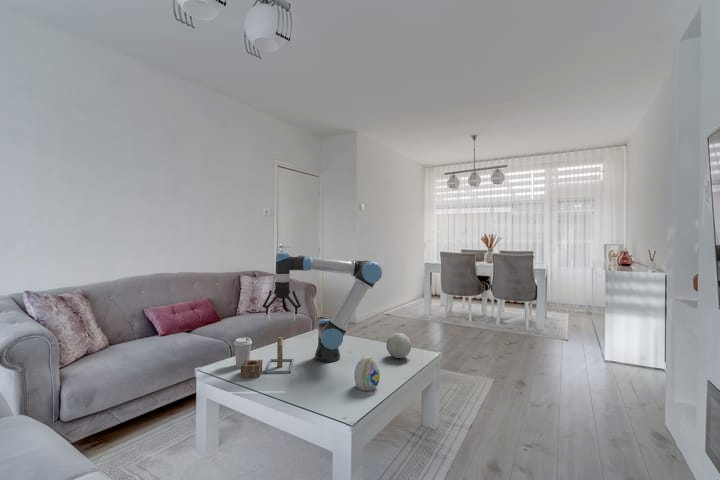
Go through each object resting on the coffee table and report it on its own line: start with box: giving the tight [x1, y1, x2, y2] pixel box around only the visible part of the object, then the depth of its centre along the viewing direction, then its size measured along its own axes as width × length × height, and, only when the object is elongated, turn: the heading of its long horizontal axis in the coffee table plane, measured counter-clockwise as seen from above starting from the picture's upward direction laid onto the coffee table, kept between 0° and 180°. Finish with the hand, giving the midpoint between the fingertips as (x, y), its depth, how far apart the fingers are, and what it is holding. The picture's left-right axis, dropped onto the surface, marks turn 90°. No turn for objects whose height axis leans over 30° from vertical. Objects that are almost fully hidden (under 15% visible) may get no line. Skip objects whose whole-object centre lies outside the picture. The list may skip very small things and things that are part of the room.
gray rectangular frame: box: [264, 358, 295, 375], centre depth 187 cm, size 13×19×2 cm
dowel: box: [276, 336, 284, 369], centre depth 187 cm, size 3×3×16 cm
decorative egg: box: [353, 355, 381, 392], centre depth 165 cm, size 12×12×15 cm
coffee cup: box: [233, 337, 253, 369], centre depth 187 cm, size 10×10×15 cm
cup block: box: [240, 359, 263, 379], centre depth 176 cm, size 9×9×6 cm
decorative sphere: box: [386, 332, 412, 359], centre depth 210 cm, size 15×15×15 cm
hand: (281, 320), depth 187 cm, fingers open, 13 cm apart
